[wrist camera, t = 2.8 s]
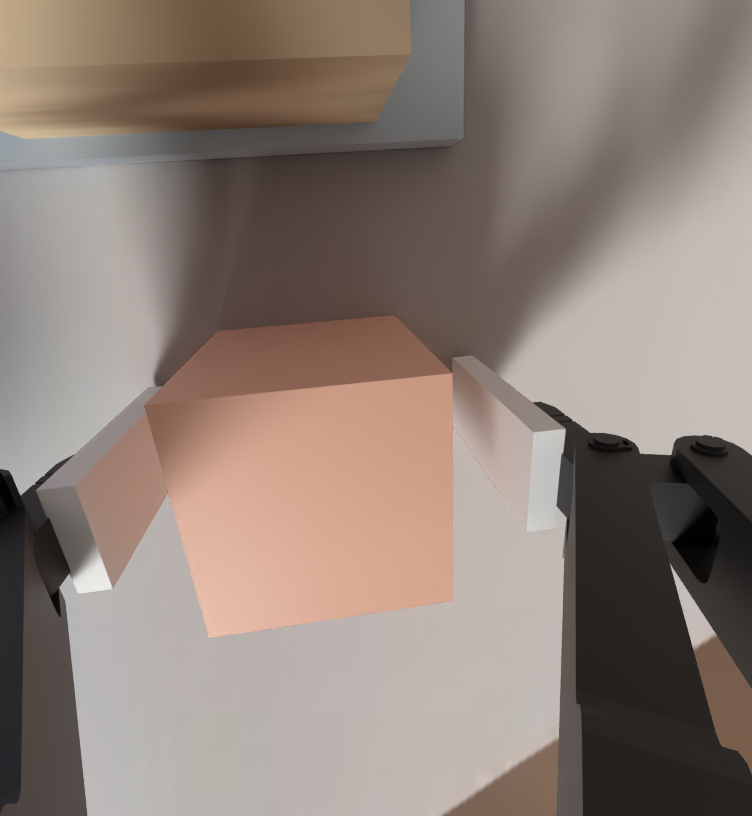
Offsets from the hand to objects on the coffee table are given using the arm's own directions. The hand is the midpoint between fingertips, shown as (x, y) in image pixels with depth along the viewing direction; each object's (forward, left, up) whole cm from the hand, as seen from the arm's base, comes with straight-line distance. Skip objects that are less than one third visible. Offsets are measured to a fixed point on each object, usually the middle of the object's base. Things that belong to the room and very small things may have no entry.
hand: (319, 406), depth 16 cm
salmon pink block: (0, 0, 0) cm, 0 cm away
